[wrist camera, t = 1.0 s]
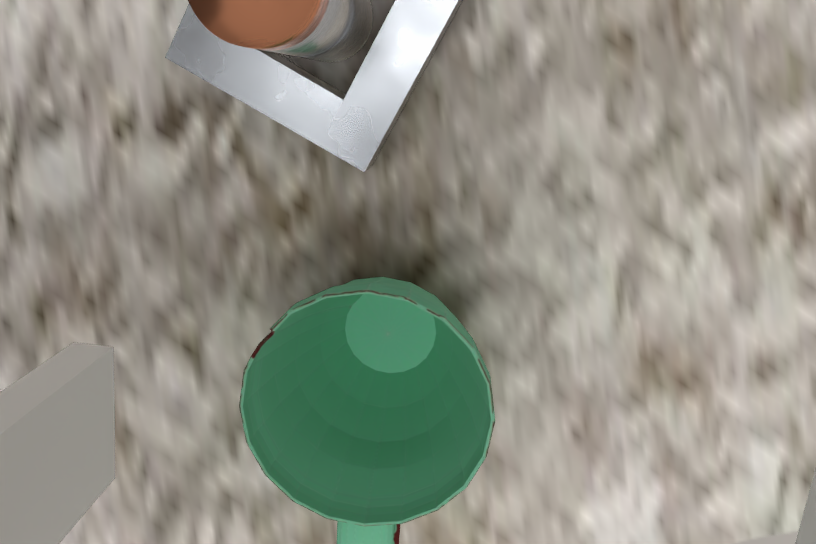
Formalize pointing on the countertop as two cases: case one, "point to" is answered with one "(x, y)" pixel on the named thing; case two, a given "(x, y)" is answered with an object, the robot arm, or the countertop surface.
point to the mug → (368, 406)
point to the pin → (290, 25)
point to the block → (315, 99)
